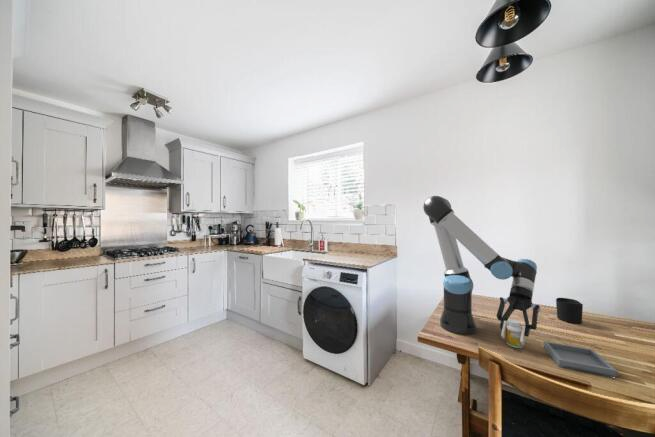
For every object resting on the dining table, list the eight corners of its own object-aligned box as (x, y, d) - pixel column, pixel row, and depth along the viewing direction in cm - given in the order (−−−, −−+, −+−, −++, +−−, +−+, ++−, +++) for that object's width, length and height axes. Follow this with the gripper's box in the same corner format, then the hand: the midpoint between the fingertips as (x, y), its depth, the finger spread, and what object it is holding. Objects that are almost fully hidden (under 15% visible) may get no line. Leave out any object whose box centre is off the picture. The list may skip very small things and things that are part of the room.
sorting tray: (559, 366, 81) (559, 359, 81) (543, 347, 94) (543, 340, 94) (617, 378, 75) (617, 371, 75) (592, 356, 88) (592, 349, 88)
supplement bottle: (506, 340, 100) (506, 317, 100) (523, 344, 96) (522, 320, 96) (505, 345, 95) (505, 321, 95) (523, 350, 92) (523, 325, 92)
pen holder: (587, 322, 116) (586, 302, 116) (576, 326, 113) (576, 305, 113) (562, 315, 125) (562, 296, 125) (552, 318, 121) (552, 299, 121)
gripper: (551, 300, 99) (544, 354, 88) (498, 290, 113) (487, 335, 102) (549, 290, 95) (541, 344, 85) (495, 281, 109) (483, 326, 99)
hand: (512, 339), depth 93 cm, fingers closed on supplement bottle, 5 cm apart
